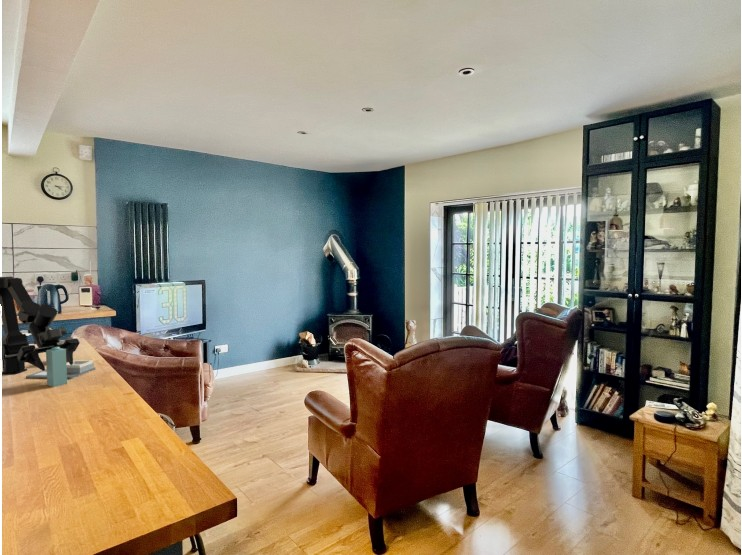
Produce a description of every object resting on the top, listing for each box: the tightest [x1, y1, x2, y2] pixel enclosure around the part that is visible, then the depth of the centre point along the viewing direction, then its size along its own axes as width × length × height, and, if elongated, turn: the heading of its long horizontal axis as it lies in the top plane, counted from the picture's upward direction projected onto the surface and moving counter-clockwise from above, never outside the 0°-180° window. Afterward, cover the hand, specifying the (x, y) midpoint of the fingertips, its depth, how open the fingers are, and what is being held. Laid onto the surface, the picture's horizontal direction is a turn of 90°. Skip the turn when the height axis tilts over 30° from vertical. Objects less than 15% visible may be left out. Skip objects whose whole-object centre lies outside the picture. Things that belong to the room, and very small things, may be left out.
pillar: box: [45, 347, 68, 388], centre depth 162 cm, size 4×4×14 cm
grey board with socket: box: [25, 359, 96, 380], centre depth 176 cm, size 18×14×4 cm
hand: (58, 367), depth 161 cm, fingers open, 9 cm apart
